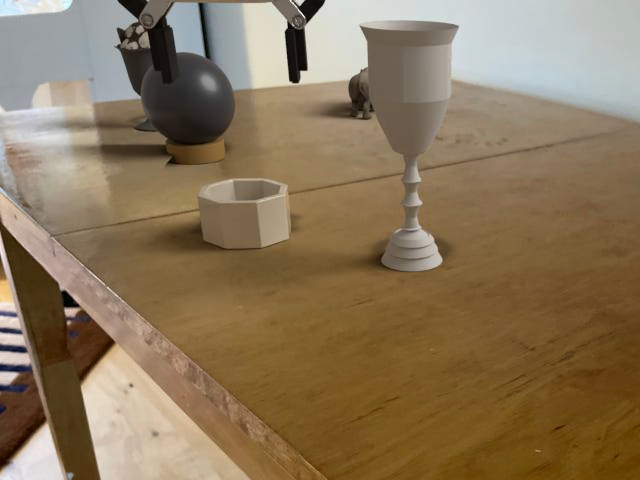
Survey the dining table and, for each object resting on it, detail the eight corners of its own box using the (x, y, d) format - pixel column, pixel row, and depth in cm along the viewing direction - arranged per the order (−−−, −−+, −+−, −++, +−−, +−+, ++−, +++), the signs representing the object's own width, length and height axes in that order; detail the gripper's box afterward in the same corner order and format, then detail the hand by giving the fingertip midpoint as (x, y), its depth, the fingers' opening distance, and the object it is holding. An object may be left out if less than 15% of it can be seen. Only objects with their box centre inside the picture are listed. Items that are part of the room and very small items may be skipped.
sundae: (189, 129, 103) (170, 5, 96) (135, 134, 100) (113, 6, 93) (175, 120, 108) (156, 1, 101) (123, 124, 105) (101, 2, 97)
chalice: (430, 240, 69) (430, 19, 60) (470, 265, 64) (477, 29, 55) (354, 254, 65) (343, 21, 57) (390, 282, 60) (385, 32, 52)
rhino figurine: (385, 101, 124) (384, 61, 121) (374, 119, 112) (373, 76, 109) (360, 101, 124) (358, 61, 121) (346, 119, 112) (344, 75, 109)
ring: (199, 249, 65) (192, 203, 63) (212, 221, 72) (206, 178, 70) (287, 247, 66) (282, 202, 64) (293, 220, 73) (289, 177, 71)
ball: (142, 168, 86) (122, 58, 81) (161, 146, 95) (145, 45, 89) (235, 168, 87) (222, 59, 82) (246, 146, 96) (235, 47, 91)
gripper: (52, -189, 50) (108, 89, 58) (325, -178, 52) (342, 88, 60) (87, -175, 57) (133, 74, 65) (329, -165, 59) (343, 73, 67)
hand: (234, 81), depth 63 cm, fingers open, 9 cm apart
